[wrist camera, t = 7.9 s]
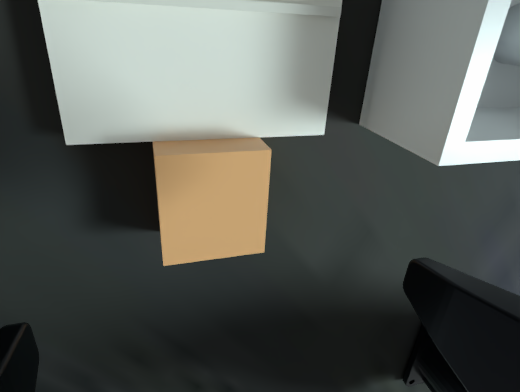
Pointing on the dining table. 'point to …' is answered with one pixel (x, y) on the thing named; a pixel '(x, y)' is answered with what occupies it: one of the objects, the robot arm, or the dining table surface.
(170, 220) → the lid
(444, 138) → the white open box
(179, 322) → the dining table surface
